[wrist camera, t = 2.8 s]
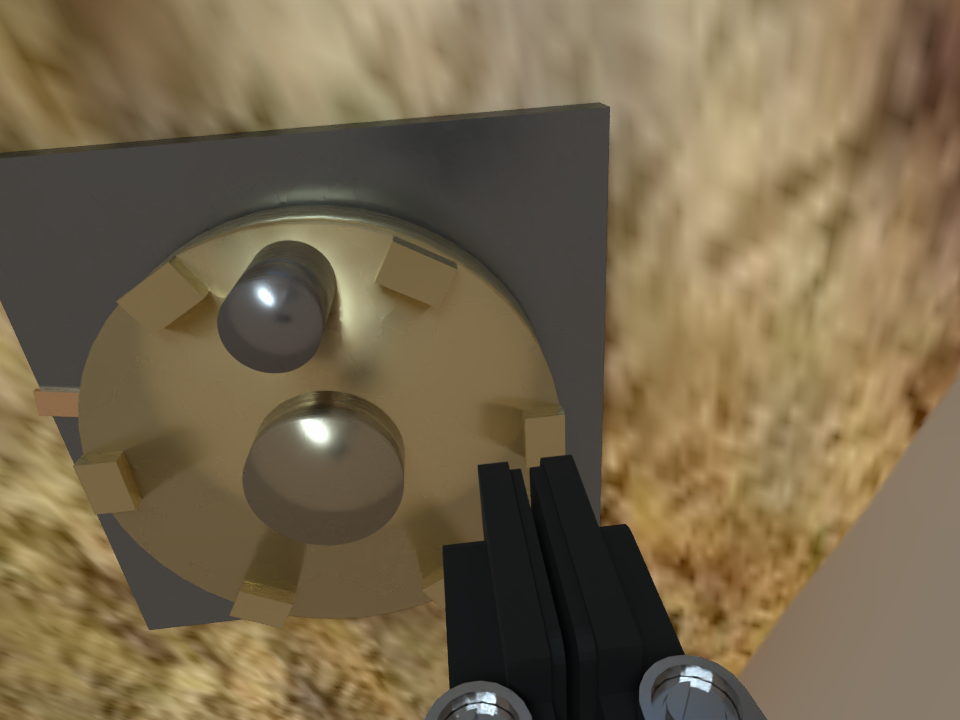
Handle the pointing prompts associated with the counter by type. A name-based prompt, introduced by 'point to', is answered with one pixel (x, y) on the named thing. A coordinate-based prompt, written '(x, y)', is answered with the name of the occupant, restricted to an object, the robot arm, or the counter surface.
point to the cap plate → (299, 182)
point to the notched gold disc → (312, 410)
